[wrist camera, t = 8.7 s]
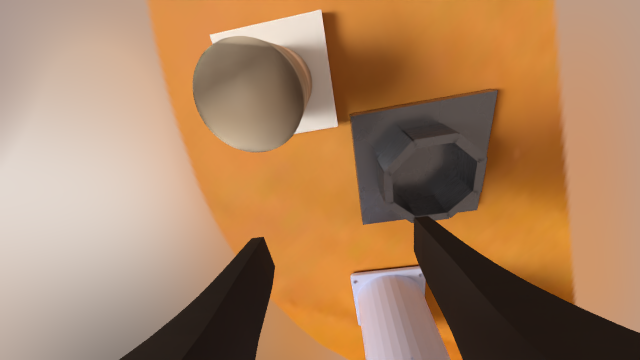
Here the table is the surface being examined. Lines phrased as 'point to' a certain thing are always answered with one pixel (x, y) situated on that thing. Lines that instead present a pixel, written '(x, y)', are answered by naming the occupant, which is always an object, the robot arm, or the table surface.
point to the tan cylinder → (251, 92)
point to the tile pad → (311, 45)
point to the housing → (422, 157)
